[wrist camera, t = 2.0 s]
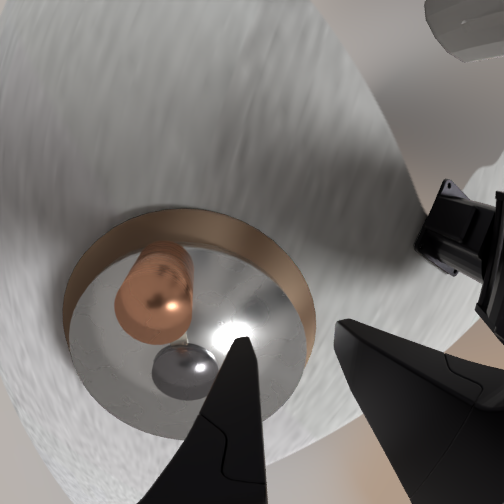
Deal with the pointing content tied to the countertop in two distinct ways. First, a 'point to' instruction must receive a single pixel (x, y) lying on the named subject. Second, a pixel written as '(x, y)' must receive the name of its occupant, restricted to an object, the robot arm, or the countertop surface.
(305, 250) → the countertop surface
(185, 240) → the wheel base
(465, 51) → the water bottle
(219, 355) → the handwheel
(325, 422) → the countertop surface
